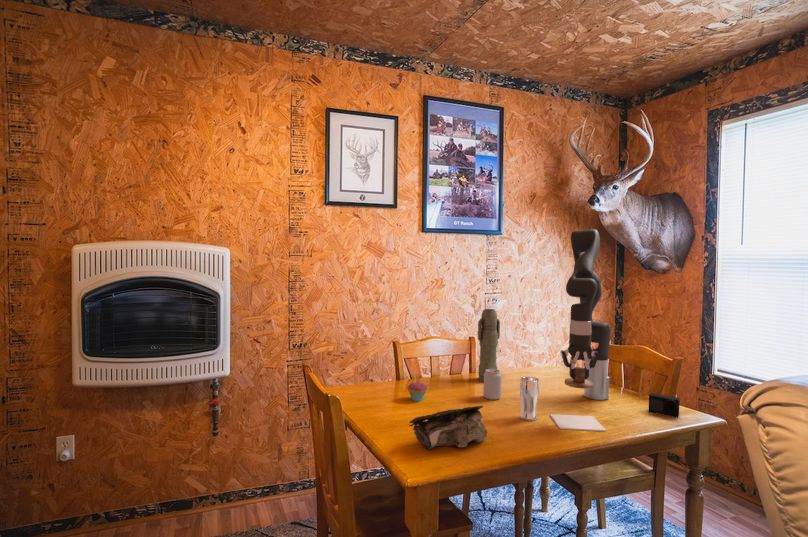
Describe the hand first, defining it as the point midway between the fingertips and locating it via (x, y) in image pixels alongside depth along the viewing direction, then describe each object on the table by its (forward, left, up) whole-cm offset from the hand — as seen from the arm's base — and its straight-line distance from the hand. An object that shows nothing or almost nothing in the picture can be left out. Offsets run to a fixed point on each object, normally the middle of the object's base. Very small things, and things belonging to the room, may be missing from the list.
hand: (578, 378), depth 167 cm
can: (+28, -26, -17) cm, 42 cm away
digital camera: (-38, -16, -17) cm, 44 cm away
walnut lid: (0, 0, -2) cm, 2 cm away
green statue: (+27, -54, -17) cm, 63 cm away
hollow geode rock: (+48, +24, -17) cm, 57 cm away
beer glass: (+17, -3, -17) cm, 24 cm away
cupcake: (+60, -19, -17) cm, 65 cm away
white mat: (0, 0, -17) cm, 17 cm away
